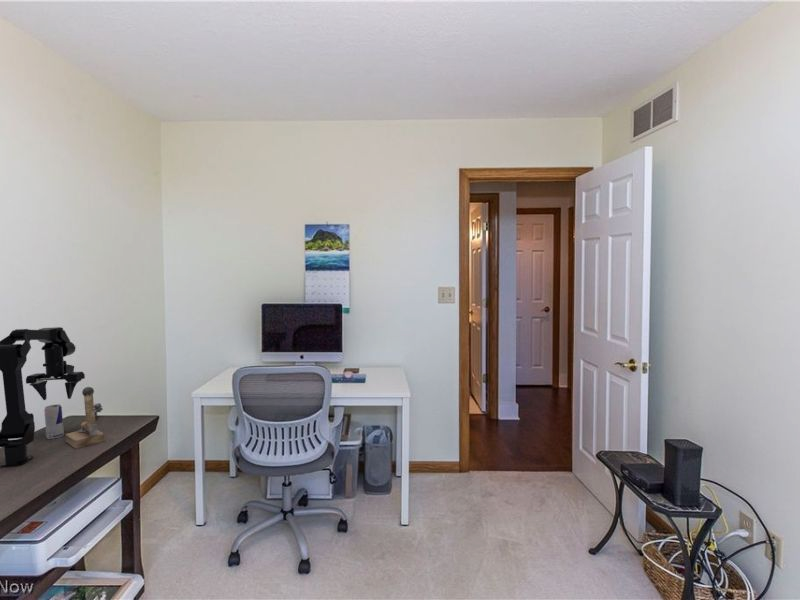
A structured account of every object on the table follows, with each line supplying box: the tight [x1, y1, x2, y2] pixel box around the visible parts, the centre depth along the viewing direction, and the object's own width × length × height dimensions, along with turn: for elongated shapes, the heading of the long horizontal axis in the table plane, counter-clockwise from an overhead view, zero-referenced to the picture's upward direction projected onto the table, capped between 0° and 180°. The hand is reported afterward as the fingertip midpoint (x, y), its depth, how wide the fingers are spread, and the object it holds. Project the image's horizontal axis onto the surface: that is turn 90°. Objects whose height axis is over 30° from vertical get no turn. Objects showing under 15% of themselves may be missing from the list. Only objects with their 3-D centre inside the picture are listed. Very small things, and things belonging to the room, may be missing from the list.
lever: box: [81, 386, 96, 431], centre depth 172 cm, size 4×4×17 cm
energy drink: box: [43, 404, 65, 440], centre depth 179 cm, size 5×5×12 cm
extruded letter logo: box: [94, 402, 104, 421], centre depth 198 cm, size 25×2×6 cm, turn 21°
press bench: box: [64, 420, 105, 450], centre depth 173 cm, size 9×12×7 cm
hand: (57, 399), depth 181 cm, fingers open, 9 cm apart
